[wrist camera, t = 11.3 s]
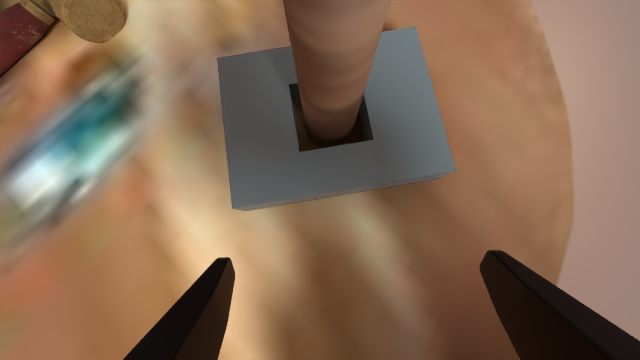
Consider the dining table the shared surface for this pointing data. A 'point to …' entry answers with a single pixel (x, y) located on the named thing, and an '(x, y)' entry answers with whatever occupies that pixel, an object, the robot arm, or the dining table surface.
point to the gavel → (39, 13)
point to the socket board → (338, 161)
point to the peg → (333, 61)
